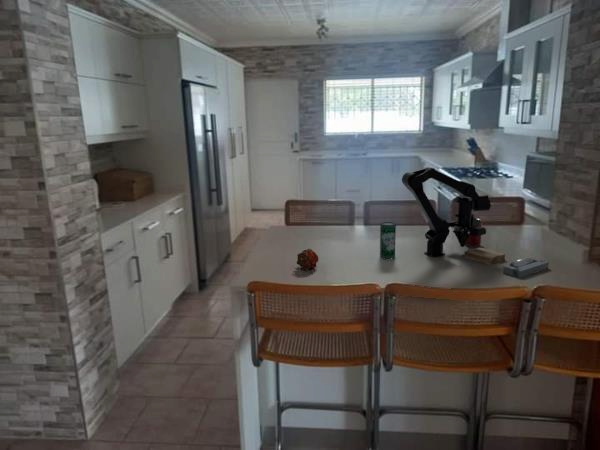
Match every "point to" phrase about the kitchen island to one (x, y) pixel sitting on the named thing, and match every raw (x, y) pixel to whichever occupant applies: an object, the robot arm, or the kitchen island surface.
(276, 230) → the kitchen island surface
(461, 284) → the kitchen island surface
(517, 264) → the roller
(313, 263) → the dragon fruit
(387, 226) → the can
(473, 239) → the soda can
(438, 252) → the robot arm
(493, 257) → the slab
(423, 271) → the kitchen island surface
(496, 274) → the kitchen island surface
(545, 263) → the stop cradle
